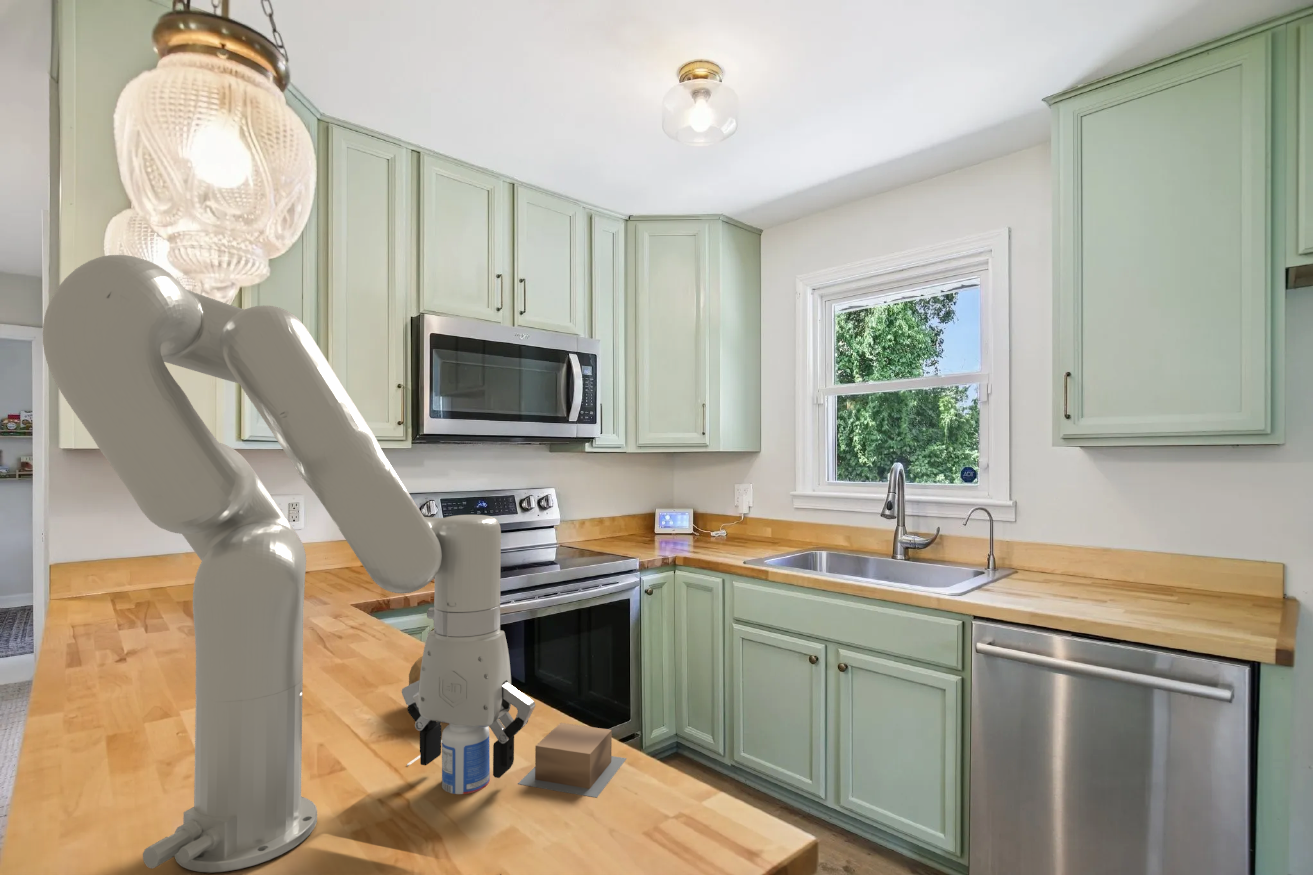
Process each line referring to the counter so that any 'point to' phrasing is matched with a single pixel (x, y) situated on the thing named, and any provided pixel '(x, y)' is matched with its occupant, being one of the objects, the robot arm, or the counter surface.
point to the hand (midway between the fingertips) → (466, 766)
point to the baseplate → (592, 792)
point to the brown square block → (573, 755)
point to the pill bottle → (465, 758)
